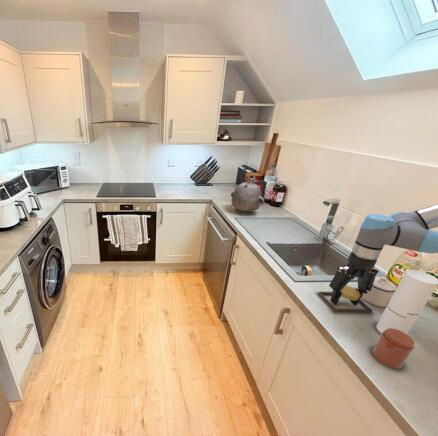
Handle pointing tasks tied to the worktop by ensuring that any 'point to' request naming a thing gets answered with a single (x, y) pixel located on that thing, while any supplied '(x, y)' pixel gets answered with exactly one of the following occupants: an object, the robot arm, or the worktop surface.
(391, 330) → the jar
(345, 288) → the jar lid
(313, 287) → the worktop surface
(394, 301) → the cylindrical container
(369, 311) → the dark rectangular frame
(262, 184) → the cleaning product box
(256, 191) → the jug
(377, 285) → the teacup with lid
